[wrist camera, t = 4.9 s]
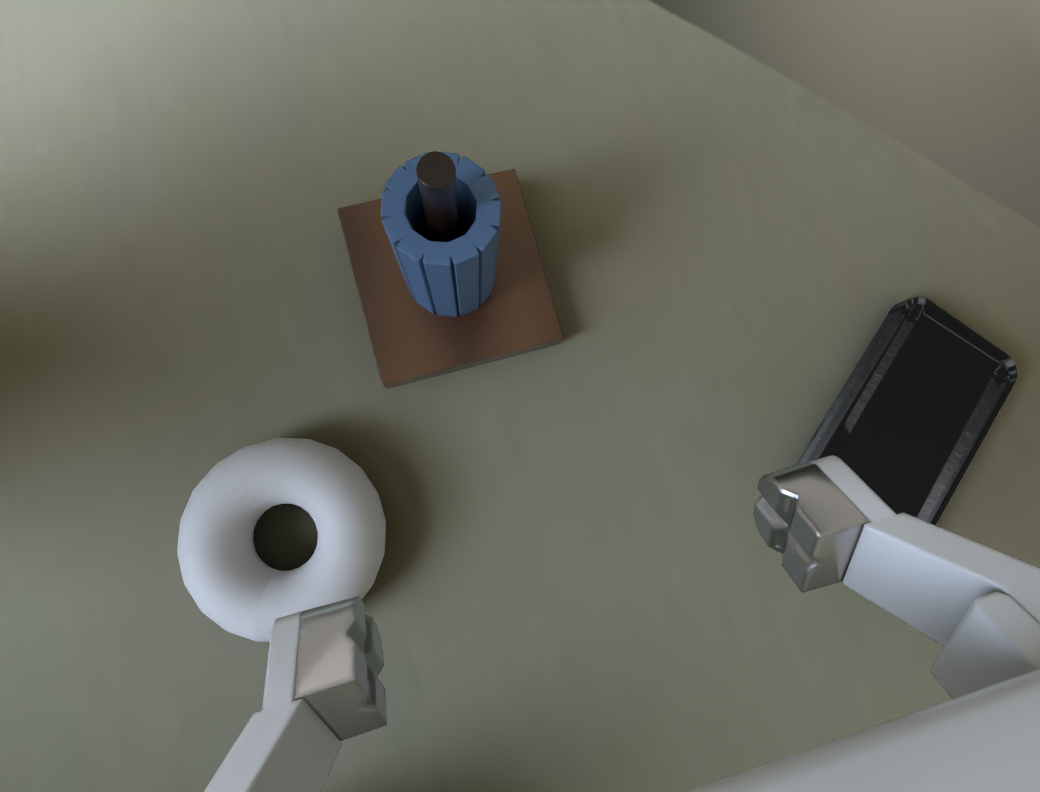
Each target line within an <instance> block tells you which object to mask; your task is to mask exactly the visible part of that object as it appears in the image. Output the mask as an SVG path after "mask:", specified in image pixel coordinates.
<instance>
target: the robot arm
mask: <svg viewBox="0 0 1040 792" xmlns="http://www.w3.org/2000/svg"><path fill="white" fill-rule="evenodd" d="M758 490H759V491H760V492H761V494H762V495H761V496H760V498H759V499H758V500H757V501H756V502H755V505H754V513H753V514H754V518H755V522H756V526H757V529H758V531H759V533H760V535H761V537H762V538H763V539H764V541H765V542H766V544H767V545H768V547H770V548H772V549H774V550H776V551H778V552H780V553H782V566H783V567H784V569H785V570H786V571H787V573H788V574H789V576H790V577H791V578H792V580H793V581H794V582H795V584H796V585H797V587H798V588H799V589H800V591H801V592H802V593H803V592H806V591H810V590H813V589H817V588H820V587H824V586H827V585H831V584H834V583H838V582H841V581H843V582H842V584H843V585H845V586H847V587H848V588H850V589H852V590H853V591H855V592H856V593H858V594H860V595H861V596H863V597H865V598H866V599H868V600H869V601H871V602H873V603H874V604H876V605H877V606H879V607H881V608H882V609H884V610H886V611H887V612H889V613H890V614H892V615H894V616H895V617H897V618H899V619H900V620H902V621H903V622H905V623H907V624H908V625H910V626H912V627H913V628H915V629H916V630H918V631H920V632H921V633H923V634H925V635H926V636H928V637H929V638H931V639H933V640H934V641H936V642H938V643H939V644H941V645H942V646H944V647H943V648H942V650H941V651H940V653H939V654H938V656H937V657H936V659H935V660H934V662H933V663H932V668H931V673H932V674H933V675H934V677H935V678H936V679H937V680H938V682H939V683H940V684H941V685H942V687H943V688H944V689H945V690H946V692H947V693H948V694H949V695H950V697H951V698H952V699H951V700H948V701H945V702H942V703H939V704H936V705H933V706H930V707H928V708H925V709H922V710H919V711H916V712H913V713H910V714H908V715H905V716H902V717H899V718H896V719H893V720H890V721H887V722H885V723H882V724H879V725H876V726H873V727H870V728H867V729H864V730H862V731H859V732H856V733H853V734H850V735H847V736H844V737H841V738H839V739H836V740H833V741H830V742H827V743H824V744H821V745H818V746H816V747H813V748H810V749H807V750H804V751H801V752H798V753H796V754H793V755H790V756H787V757H784V758H781V759H778V760H775V761H773V762H770V763H767V764H764V765H761V766H758V767H755V768H752V769H750V770H747V771H744V772H741V773H738V774H735V775H732V776H729V777H727V778H724V779H721V780H718V781H715V782H712V783H709V784H707V785H704V786H701V787H698V788H695V789H692V790H689V791H686V792H1040V568H1037V567H1035V566H1032V565H1030V564H1027V563H1025V562H1023V561H1020V560H1018V559H1015V558H1013V557H1010V556H1008V555H1006V554H1003V553H1001V552H998V551H996V550H993V549H991V548H989V547H986V546H984V545H981V544H979V543H976V542H974V541H972V540H969V539H967V538H964V537H962V536H959V535H957V534H955V533H952V532H950V531H947V530H945V529H942V528H940V527H938V526H935V525H933V524H930V523H928V522H925V521H923V520H921V519H918V518H916V517H913V516H911V515H908V514H906V513H904V512H903V513H899V514H896V513H895V512H894V511H893V510H892V509H891V508H890V507H889V506H888V505H887V504H886V503H885V502H884V501H883V500H882V499H881V498H880V497H879V496H878V495H877V494H876V493H875V492H874V491H873V490H872V489H871V488H870V487H869V486H868V485H867V484H866V483H865V482H864V481H863V480H861V479H860V478H859V477H858V476H857V475H856V474H855V473H854V472H853V471H852V470H851V469H850V468H849V467H848V466H847V465H846V464H845V463H844V462H843V461H842V460H841V459H840V458H838V457H836V456H834V455H832V456H827V457H824V458H821V459H817V460H814V461H811V462H805V463H802V464H799V465H795V466H792V467H789V468H786V469H783V470H779V471H776V472H773V473H770V474H767V475H763V476H762V477H761V478H760V480H759V483H758ZM383 666H384V660H383V649H382V643H381V638H380V634H379V631H378V628H377V625H376V623H375V621H374V619H373V618H372V617H370V616H367V615H365V604H364V602H363V601H362V599H361V598H360V596H355V597H352V598H348V599H344V600H341V601H337V602H334V603H330V604H326V605H323V606H319V607H316V608H312V609H308V610H304V611H300V612H297V613H294V614H290V615H287V616H283V617H280V618H277V619H275V622H274V624H273V627H272V629H271V637H270V646H269V655H268V663H267V672H266V681H265V690H264V699H263V708H262V711H259V712H256V713H254V714H253V715H252V717H251V719H250V720H249V722H248V723H247V725H246V726H245V728H244V730H243V731H242V733H241V734H240V736H239V737H238V739H237V740H236V742H235V744H234V745H233V747H232V748H231V750H230V751H229V753H228V755H227V756H226V758H225V759H224V761H223V762H222V764H221V766H220V767H219V769H218V770H217V772H216V773H215V775H214V777H213V778H212V780H211V781H210V783H209V784H208V786H207V787H206V789H205V791H204V792H322V789H323V787H324V785H325V783H326V780H327V778H328V776H329V773H330V771H331V769H332V766H333V764H334V762H335V759H336V757H337V755H338V752H339V750H340V748H341V745H342V742H341V741H342V740H345V739H348V738H351V737H354V736H357V735H359V734H362V733H365V732H368V731H371V730H374V729H377V728H380V727H382V726H385V725H387V717H386V696H385V688H384V686H383V684H382V683H381V681H380V680H379V678H378V675H379V673H380V671H381V669H382V668H383Z"/></svg>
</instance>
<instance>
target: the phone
mask: <svg viewBox="0 0 1040 792" xmlns="http://www.w3.org/2000/svg"><path fill="white" fill-rule="evenodd" d="M1016 379H1017V368H1016V364H1015V363H1014V361H1013V359H1012V358H1011V357H1010V356H1008V355H1007V354H1006V353H1004V352H1003V351H1002V350H1000V349H999V348H997V347H996V346H994V345H993V344H992V343H990V342H989V341H987V340H986V339H984V338H983V337H982V336H980V335H979V334H977V333H976V332H974V331H973V330H971V329H970V328H969V327H967V326H966V325H964V324H963V323H961V322H960V321H959V320H957V319H956V318H954V317H953V316H951V315H950V314H949V313H947V312H946V311H944V310H943V309H941V308H940V307H939V306H937V305H936V304H934V303H933V302H931V301H930V300H928V299H926V298H922V297H915V298H911V299H909V300H906V301H904V302H901V303H899V304H897V305H895V306H894V307H893V308H892V309H891V310H890V312H889V314H888V315H887V317H886V318H885V320H884V322H883V323H882V325H881V327H880V328H879V330H878V332H877V333H876V335H875V337H874V338H873V340H872V341H871V343H870V345H869V346H868V348H867V350H866V351H865V353H864V355H863V356H862V358H861V359H860V361H859V363H858V364H857V366H856V368H855V369H854V371H853V373H852V374H851V376H850V377H849V379H848V381H847V382H846V384H845V386H844V387H843V389H842V391H841V392H840V394H839V396H838V397H837V399H836V400H835V402H834V404H833V405H832V407H831V409H830V410H829V412H828V414H827V415H826V417H825V418H824V420H823V422H822V423H821V425H820V427H819V428H818V430H817V432H816V433H815V435H814V437H813V438H812V440H811V441H810V443H809V445H808V446H807V448H806V450H805V451H804V453H803V455H802V456H801V458H800V459H799V461H798V463H797V464H796V465H799V464H802V463H805V462H811V461H814V460H817V459H821V458H824V457H827V456H832V455H834V456H836V457H838V458H840V459H841V460H842V461H843V462H844V463H845V464H846V465H847V466H848V467H849V468H850V469H851V470H852V471H853V472H854V473H855V474H856V475H857V476H858V477H859V478H860V479H861V480H863V481H864V482H865V483H866V484H867V485H868V486H869V487H870V488H871V489H872V490H873V491H874V492H875V493H876V494H877V495H878V496H879V497H880V498H881V499H882V500H883V501H884V502H885V503H886V504H887V505H888V506H889V507H890V508H891V509H892V510H893V511H894V512H895V513H896V514H899V513H903V512H904V513H906V514H908V515H911V516H913V517H916V518H918V519H921V520H923V521H925V522H928V523H930V524H933V525H936V523H937V521H938V520H939V518H940V516H941V514H942V512H943V511H944V509H945V507H946V505H947V503H948V502H949V500H950V498H951V496H952V495H953V493H954V491H955V489H956V487H957V486H958V484H959V482H960V480H961V478H962V477H963V475H964V473H965V471H966V469H967V468H968V466H969V464H970V462H971V461H972V459H973V457H974V455H975V453H976V452H977V450H978V448H979V446H980V444H981V443H982V441H983V439H984V437H985V435H986V434H987V432H988V430H989V428H990V426H991V425H992V423H993V421H994V419H995V418H996V416H997V414H998V412H999V410H1000V409H1001V407H1002V405H1003V403H1004V401H1005V400H1006V398H1007V396H1008V394H1009V392H1010V391H1011V389H1012V387H1013V385H1014V384H1015V381H1016Z"/></svg>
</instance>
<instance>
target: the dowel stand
mask: <svg viewBox="0 0 1040 792" xmlns="http://www.w3.org/2000/svg"><path fill="white" fill-rule="evenodd" d="M416 175H417V179H418V184H419V189H420V194H421V198H422V203H423V208H424V213H425V217H426V222H427V227H428V231H429V236H430V241H438V242H450V241H452V240H454V239H456V238H459V237H461V232H460V218H459V205H458V191H457V178H456V167H455V164H454V162H453V160H452V159H451V158H450V157H449V156H448V155H446V154H444V153H442V152H429V153H427V154H425V155H423V156H422V157H421V158H420V160H419V161H418V163H417V166H416ZM490 177H491V179H492V181H493V183H494V185H495V187H496V189H497V191H498V193H499V195H500V200H499V201H501V215H500V228H499V239H498V250H497V260H496V271H495V282H494V286H493V288H492V292H491V293H490V294H489V296H488V297H487V299H486V300H485V302H484V303H483V304H482V305H480V304H479V308H478V309H476V310H473V311H471V312H469V313H467V314H465V315H463V316H460V314H459V312H458V315H457V317H453V316H440V315H437V312H435V313H434V314H432V313H431V312H429V311H428V310H426V309H425V308H423V307H422V306H421V305H419V304H418V303H417V301H416V299H413V297H412V295H411V292H410V290H409V288H408V286H407V284H406V282H405V279H404V277H403V274H402V272H401V269H400V267H399V264H398V262H397V259H396V257H395V254H394V252H393V249H392V246H391V244H390V241H389V239H388V236H387V234H386V231H385V229H384V226H383V224H382V217H381V214H380V213H381V202H382V199H379V200H374V201H370V202H365V203H361V204H356V205H352V206H347V207H343V208H339V209H338V213H339V217H340V221H341V225H342V229H343V233H344V237H345V240H346V244H347V248H348V252H349V256H350V260H351V264H352V268H353V272H354V276H355V280H356V284H357V288H358V292H359V296H360V300H361V304H362V308H363V311H364V315H365V319H366V323H367V327H368V331H369V335H370V339H371V343H372V347H373V351H374V355H375V359H376V363H377V367H378V371H379V375H380V378H381V382H382V385H383V386H384V387H386V388H391V387H395V386H399V385H403V384H407V383H410V382H414V381H418V380H422V379H426V378H430V377H434V376H438V375H441V374H445V373H449V372H453V371H457V370H461V369H465V368H468V367H472V366H476V365H480V364H484V363H488V362H492V361H495V360H499V359H503V358H507V357H511V356H515V355H519V354H523V353H526V352H530V351H534V350H538V349H542V348H546V347H550V346H553V345H557V344H560V342H561V341H562V339H563V335H562V331H561V328H560V324H559V321H558V318H557V314H556V311H555V307H554V304H553V300H552V297H551V293H550V290H549V286H548V283H547V279H546V276H545V272H544V269H543V265H542V262H541V258H540V255H539V251H538V248H537V245H536V241H535V238H534V234H533V231H532V227H531V224H530V220H529V217H528V213H527V210H526V206H525V203H524V199H523V196H522V192H521V189H520V185H519V182H518V178H517V175H516V171H515V169H513V170H508V171H504V172H499V173H495V174H490Z"/></svg>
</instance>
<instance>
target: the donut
mask: <svg viewBox="0 0 1040 792" xmlns="http://www.w3.org/2000/svg"><path fill="white" fill-rule="evenodd" d="M279 504H295V505H297V506H300V507H302V508H303V509H304V510H306V511H307V512H308V513H309V514H310V515H311V517H312V518H313V520H314V522H315V524H316V528H317V532H318V540H317V547H316V549H315V552H314V554H313V556H312V557H311V558H310V559H309V561H308V562H306V563H305V564H303V565H302V566H301V567H299V568H297V569H293V570H290V571H280V570H277V569H274V568H271V567H269V566H268V565H267V564H265V563H264V562H263V561H261V559H260V557H259V556H258V554H257V553H256V551H255V547H254V543H253V535H254V528H255V526H256V523H257V521H258V519H259V518H260V517H261V515H262V514H263V513H264V512H265V511H266V510H268V509H269V508H271V507H272V506H276V505H279ZM385 535H386V520H385V516H384V512H383V509H382V505H381V501H380V498H379V494H378V492H377V491H376V489H375V487H374V486H373V484H372V483H371V481H370V480H369V478H368V477H367V475H366V474H365V472H364V471H363V469H362V468H361V467H360V466H358V465H357V464H356V463H355V462H353V461H352V460H351V459H349V458H348V457H347V456H346V455H344V454H343V453H342V452H340V451H339V450H338V449H336V448H333V447H330V446H328V445H325V444H322V443H319V442H316V441H313V440H311V439H304V438H274V439H270V440H267V441H263V442H260V443H256V444H253V445H249V446H245V447H242V448H241V449H239V450H238V451H236V452H235V453H233V454H231V455H230V456H228V457H227V458H225V459H224V460H222V461H220V462H219V463H217V464H216V465H214V467H213V468H212V469H211V470H210V471H209V472H208V474H207V475H206V476H205V477H204V478H203V479H202V481H201V482H200V483H199V484H198V485H197V487H196V488H195V489H194V490H193V492H192V494H191V497H190V499H189V501H188V504H187V506H186V508H185V511H184V513H183V515H182V518H181V520H180V528H179V538H178V549H177V555H178V559H179V564H180V568H181V572H182V577H183V581H184V585H185V586H186V588H187V589H188V591H189V593H190V594H191V596H192V597H193V599H194V600H195V602H196V604H197V605H198V607H199V608H200V610H201V612H203V613H204V614H205V615H207V616H208V617H209V618H210V619H212V620H213V621H214V622H215V623H217V624H218V625H219V626H221V627H222V628H223V629H224V630H226V631H227V632H230V633H233V634H236V635H239V636H242V637H245V638H248V639H251V640H254V641H256V642H270V637H271V629H272V627H273V624H274V622H275V619H277V618H280V617H283V616H287V615H290V614H294V613H297V612H300V611H304V610H308V609H312V608H316V607H319V606H323V605H326V604H330V603H334V602H337V601H341V600H344V599H348V598H352V597H355V596H360V598H361V599H363V597H364V596H365V595H366V593H367V592H368V591H369V590H370V588H371V587H372V586H373V584H374V581H375V579H376V576H377V573H378V571H379V568H380V565H381V563H382V560H383V557H384V554H385Z"/></svg>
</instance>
